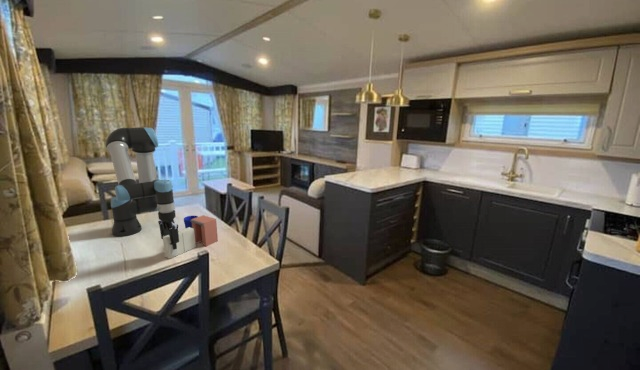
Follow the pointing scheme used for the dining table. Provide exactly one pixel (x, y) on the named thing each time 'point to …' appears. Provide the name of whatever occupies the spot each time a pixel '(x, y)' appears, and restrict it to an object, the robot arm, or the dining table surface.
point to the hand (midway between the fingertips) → (171, 253)
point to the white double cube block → (180, 242)
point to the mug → (188, 221)
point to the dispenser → (205, 230)
